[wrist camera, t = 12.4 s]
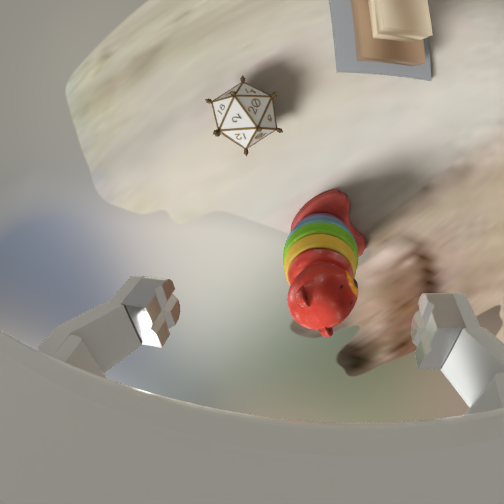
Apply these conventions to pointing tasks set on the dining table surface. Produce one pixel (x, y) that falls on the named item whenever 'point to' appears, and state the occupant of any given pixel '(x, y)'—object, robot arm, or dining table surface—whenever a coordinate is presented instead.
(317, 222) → the stacking bear
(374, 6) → the oak block
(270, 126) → the game die
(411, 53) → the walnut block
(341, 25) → the base plate
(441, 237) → the dining table surface
